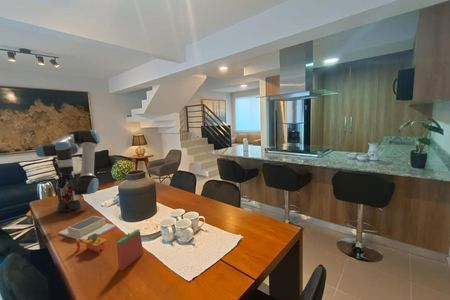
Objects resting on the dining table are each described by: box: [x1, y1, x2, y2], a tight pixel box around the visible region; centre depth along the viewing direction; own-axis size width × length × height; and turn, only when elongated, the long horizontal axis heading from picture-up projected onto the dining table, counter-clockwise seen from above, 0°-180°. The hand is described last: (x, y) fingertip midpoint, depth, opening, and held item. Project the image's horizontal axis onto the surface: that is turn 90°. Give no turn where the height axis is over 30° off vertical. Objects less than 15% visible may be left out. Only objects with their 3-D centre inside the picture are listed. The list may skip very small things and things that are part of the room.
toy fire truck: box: [61, 185, 77, 203], centre depth 136 cm, size 7×12×10 cm, turn 55°
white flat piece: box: [58, 215, 117, 242], centre depth 129 cm, size 18×26×5 cm
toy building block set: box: [75, 229, 144, 271], centre depth 104 cm, size 12×35×14 cm, turn 65°
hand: (70, 198), depth 136 cm, fingers closed on toy fire truck, 12 cm apart
